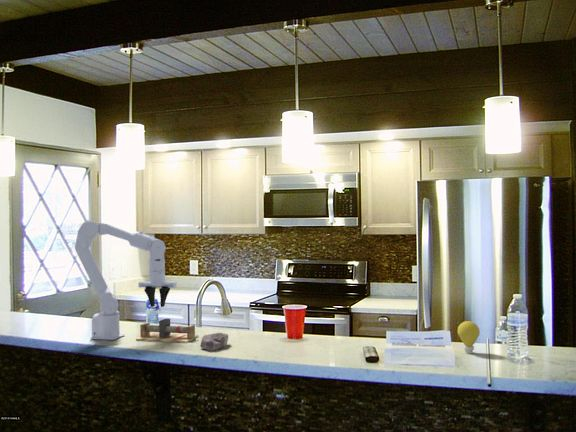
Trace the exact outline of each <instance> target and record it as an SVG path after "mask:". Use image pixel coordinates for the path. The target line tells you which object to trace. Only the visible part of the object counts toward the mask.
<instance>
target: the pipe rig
mask: <svg viewBox="0 0 576 432" xmlns="http://www.w3.org/2000/svg"><path fill="white" fill-rule="evenodd" d="M139 328H140V329H139V330H140V332H139V333H140V336H138V337H137V338H135V341H144V342H145V341H147V342H164V343H184V344H185V343H186V344H187V343H189V342H191V341H193V340H195V339H197V338H199V335H197V334H196V325H195V324H190V325H189V326H182V325H181V326H180V325H177V326H176V325H170V326H165V333H170V335H168V336H166V337H164V338H163V337H159V324H158V325H157V324H156V325H154V324H152V325H151V323H150V322H145V323H141V324H140V327H139Z"/></svg>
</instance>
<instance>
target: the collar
mask: <svg viewBox="0 0 576 432" xmlns="http://www.w3.org/2000/svg"><path fill="white" fill-rule="evenodd" d="M158 326H159V332H158V334H159V337H163V338H164V337H166V336H168V335H170V334H171V333H165V326H171V318H163V319H161V320H159V321H158Z"/></svg>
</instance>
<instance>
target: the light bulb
mask: <svg viewBox="0 0 576 432" xmlns="http://www.w3.org/2000/svg"><path fill="white" fill-rule="evenodd" d="M457 334H458V337H459V339H460V340H461V343H463V350H464V354H469V355H470V354H473V353H474V352H473V351H474V350H475V346H474V345H475V343H476V341H477V340H478V338H479V337H480V327H478V325H477V324H476V323H475V322H473V321H470V320H466V321H463V322H461V323H460V324H459V325H458V327H457Z"/></svg>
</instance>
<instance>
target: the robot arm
mask: <svg viewBox="0 0 576 432" xmlns="http://www.w3.org/2000/svg"><path fill="white" fill-rule="evenodd" d="M98 233H99V234H98ZM97 235H99V236H103V235H109V236H112V237H115V238H118V239H121V240H124V241H127V242H128V243H129V245H130V246H131V247H134V248H137V249H140V250H143V251H144V252H149V259H148V260H149V261H148V263H149V267H148V268H149V281H140V282H139V281H138V288H144V293H145V294H146V296H147V298H148V300H149V304H150V308H153V307H155V304H156V300H155V299H156V297H155V295H156V294H155V293H156V288H159V290H158V291H159V295H160V296H159V297H160V303H159V305H160V308H164V307H166V305H165V304H166V301H167V300H166V299H167V297H168V295H169V293H170V291H171V288H172V289H175V288H177V282H176V281H166V266H165V265H166V261H165V260H166V259H165V252H166V249H167V246H166V243H165V242H164V241H163V240H162V239H158V238H156V237H155V236H154V235H151V236H150V235H148V234H144V232H143V231H140V230H138V231H133V232H129V231H126V230H124V229H122V228H118V227H116V226H113V225H110V224H108V223H104V222H103V223H102V222H99V221H97V222H96V221H94V220H85V221H84V222H83V223H81V225H80V227H79V228H78V231H77V235H76V240H75V244H74V249H75V253H76V255H77V257H78V258H79V260H80V262H81V265H82V266H83V269H84V270H85V272H86V275H87V276H88V279H89V281H90V283H91V284H92V287H93V289H94V291H95V293H96V295H97V296H98V300H99V306H100V311H98V313H94V315H92V318H91V337H90V340H91V339H92V340H106V341H107V340H109V341H113V340H117V339H118V338H122V337H124V336H125V334H124V333H120V330H121V329H120V326H121V325H120V311H119V310H118V309H119V301H118V299H117V297H116V296H115V295H114V294H112V292H111V290H110V288H109V287H108V285H107V282H106V280H105V278H104V277H103V274H102V272H101V270H100V268H99V266H98V263H97V262H96V261H95V258H94V256H93V254H92V252H91V249H90V247H91V245H92V242H93V240H94V239H95V238H96V237H97Z"/></svg>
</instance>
